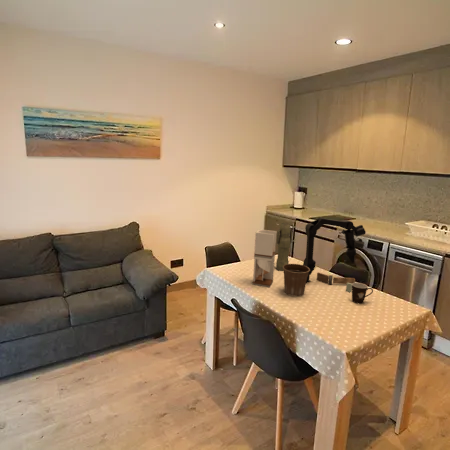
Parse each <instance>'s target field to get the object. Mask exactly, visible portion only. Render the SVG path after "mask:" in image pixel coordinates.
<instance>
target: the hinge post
mask: <svg viewBox="0 0 450 450" xmlns="http://www.w3.org/2000/svg"><path fill="white" fill-rule="evenodd" d="M316 274H317V275H316V281H318V282H320V283H323V284H326V285H328V286H332V285H333V277H334V276H333V274H332V275H331V274H329V275H328V274H325V273H321V272H317V273H316Z"/></svg>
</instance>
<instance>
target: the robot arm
mask: <svg viewBox="0 0 450 450" xmlns="http://www.w3.org/2000/svg"><path fill="white" fill-rule="evenodd" d="M323 225H326V226H331V227H333V226H334V227H338V228H339V227H340V228H342V229H343V230H342V231H341V232H340V234H341V235H342V234H343V235H344V239H345V242H344V243H345V245H346V250H345V255H346V256H347V258H348V259H349V261H351V263H354V262H355V256H356V255H357V249H356V248H360V249H364V247H365V241H363V239H362V238H359V239H358V240H356V238H357V237H361V236H364V235H366V233H367V231H366V229H365V227H364V226H363V224H360V225H357V226H355V224H354V223H353V222H352V221H351V220H348V219H340V220H339V219H338V220H337V219H331V218H324V217H321V216H320V217H318V218H317V219H315V220H313V221H311V222H310V223H307V224H306V225H305V227H304V228H305V233H306V234H305V235H306V251H305V252H306V253H305V258H304V260H303V264H302V265H304V266H306V267H308V268H309V269H310V271H309V273H308V277H307V280H306V284H308V283H311V282H312V281H311V280H310V275H312V273H313V271H315V269H316V263H317V262H316V260H314V247H315V246H314V245H315V238H316V236H317V232H318V231H319V230H320V229H321V228H322V227H323Z"/></svg>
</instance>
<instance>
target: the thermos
mask: <svg viewBox="0 0 450 450" xmlns="http://www.w3.org/2000/svg"><path fill="white" fill-rule="evenodd" d="M276 231H277V232H276V244H277V259H276V262H275V263H276V264H275V265H276V267H275V268H276V271H280V272H284V269H283V266H284V265H286V264H290V263H289V262H290V261H289V253H290V247H291V243H292V241H293V231H292V229H291V224H290V223H288V222H283V223H281V225H280V226H279V229H278V230H276Z"/></svg>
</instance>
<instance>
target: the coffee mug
mask: <svg viewBox="0 0 450 450" xmlns="http://www.w3.org/2000/svg"><path fill="white" fill-rule="evenodd" d="M368 290H371V292H370V293H369V294H367V292H368ZM373 292H374V289H373V288H372V287H368V285H367V284H365V283H362V282H355V283H352V292H351V301H352V302H353V303H355V304H358V303H359V304H358V305H362V304H364V302H365V298H366V297H369V296H370V295H372V294H373ZM366 294H367V295H366Z"/></svg>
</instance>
